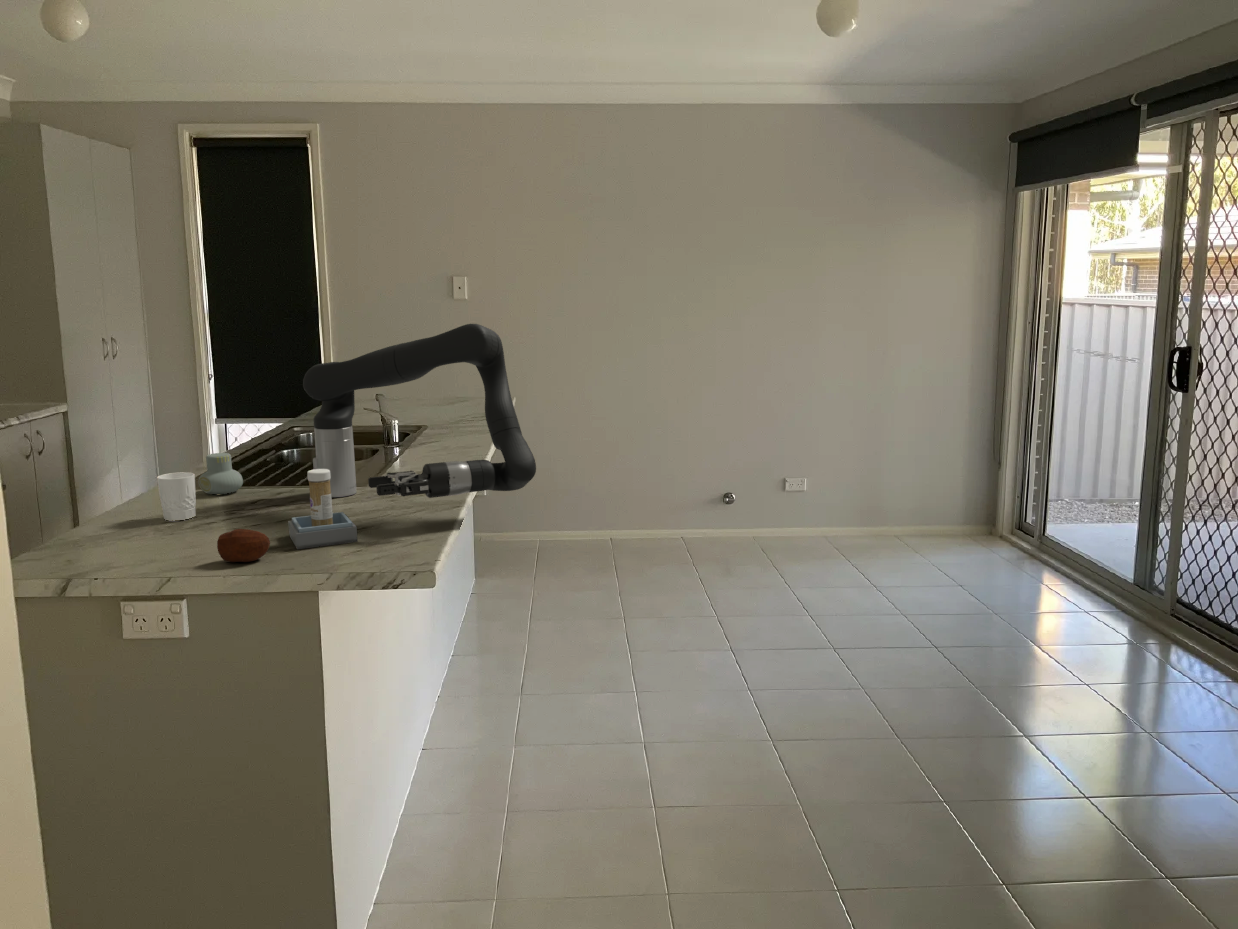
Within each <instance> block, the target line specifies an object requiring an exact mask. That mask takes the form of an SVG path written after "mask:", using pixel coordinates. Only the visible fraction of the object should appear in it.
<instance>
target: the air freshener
mask: <svg viewBox="0 0 1238 929" xmlns="http://www.w3.org/2000/svg"><path fill="white" fill-rule="evenodd" d="M205 460H206V461H205V462H206V471H205V472H204V473H202V474H201V475H200V476H199V477H198V482H197V483H198V486H199V487H200V489H201V491H202V492H203V493H206V494H207V495H209V494H224V495H228V494H227V493H229V494H232V493H235V492H236V491H238V490H240V488H242V486H243V484H244V479H243V476H242V474H241V473H240V472H239V471H237V470H235V469H233V466H232V465H233V464H232V455H231V454H230V453H229V452H217V453H210V454H207V455H206V456H205ZM231 492H232V493H231Z"/></svg>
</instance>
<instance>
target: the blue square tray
mask: <svg viewBox="0 0 1238 929" xmlns="http://www.w3.org/2000/svg"><path fill="white" fill-rule="evenodd" d="M332 513H333V517H332V519H333V524H331V525H323V526H314V527H312V519H311V515H304V516H296V517H295V516H294V517H291V520H288V521H287V522H288V523H287V526H288V535H289V537H290V539H291V542H293V544H294V546H295V548H296V549H297V550H302V549H303V550H304V549H311V548H319V546H320V547H327V546H335V545H341V544H342V545H343V544H349V543H358V541H359V540H358V530H357V529H358V528H357V525H356V524H355V523H353V521H352V520H351V518H350V517H348V515H347V514H345V512H343V511H339V512H332Z"/></svg>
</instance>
